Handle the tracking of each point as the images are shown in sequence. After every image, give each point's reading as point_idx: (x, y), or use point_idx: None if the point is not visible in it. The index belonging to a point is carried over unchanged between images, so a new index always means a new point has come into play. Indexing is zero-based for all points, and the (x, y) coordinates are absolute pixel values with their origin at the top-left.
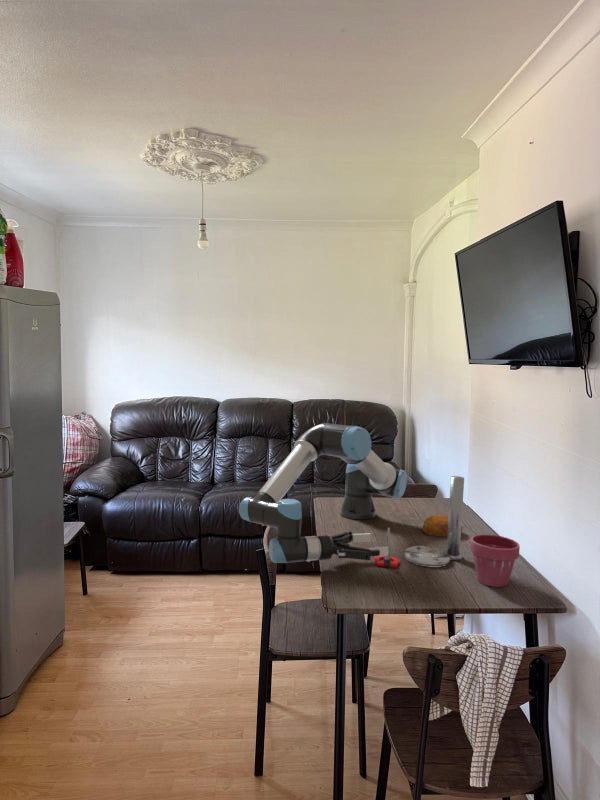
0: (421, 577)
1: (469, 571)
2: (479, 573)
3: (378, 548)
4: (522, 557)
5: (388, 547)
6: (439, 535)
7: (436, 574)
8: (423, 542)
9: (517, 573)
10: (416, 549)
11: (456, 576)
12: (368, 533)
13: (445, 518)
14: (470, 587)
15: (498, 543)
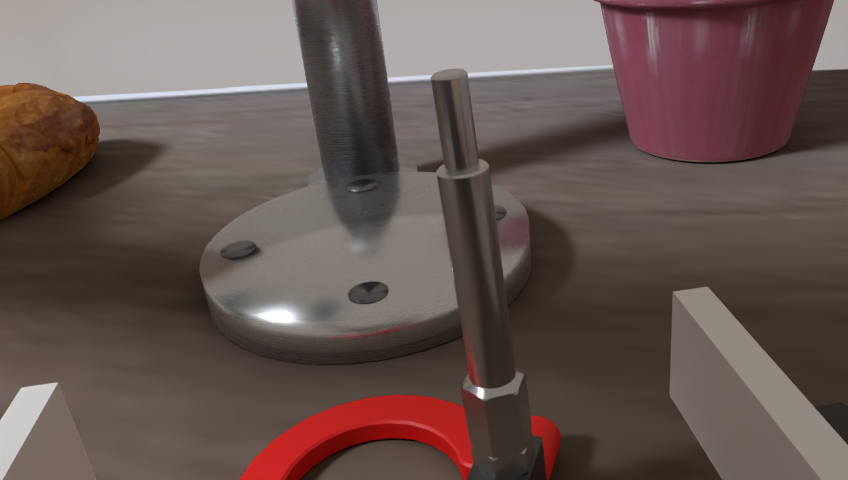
0: (755, 338)
1: (581, 172)
2: (758, 111)
3: (791, 389)
4: (413, 81)
5: (509, 326)
6: (48, 190)
7: (661, 268)
8: (79, 250)
9: (587, 95)
10: (266, 263)
11: (673, 209)
12: (22, 409)
13: (2, 96)
14: (842, 189)
15: None
